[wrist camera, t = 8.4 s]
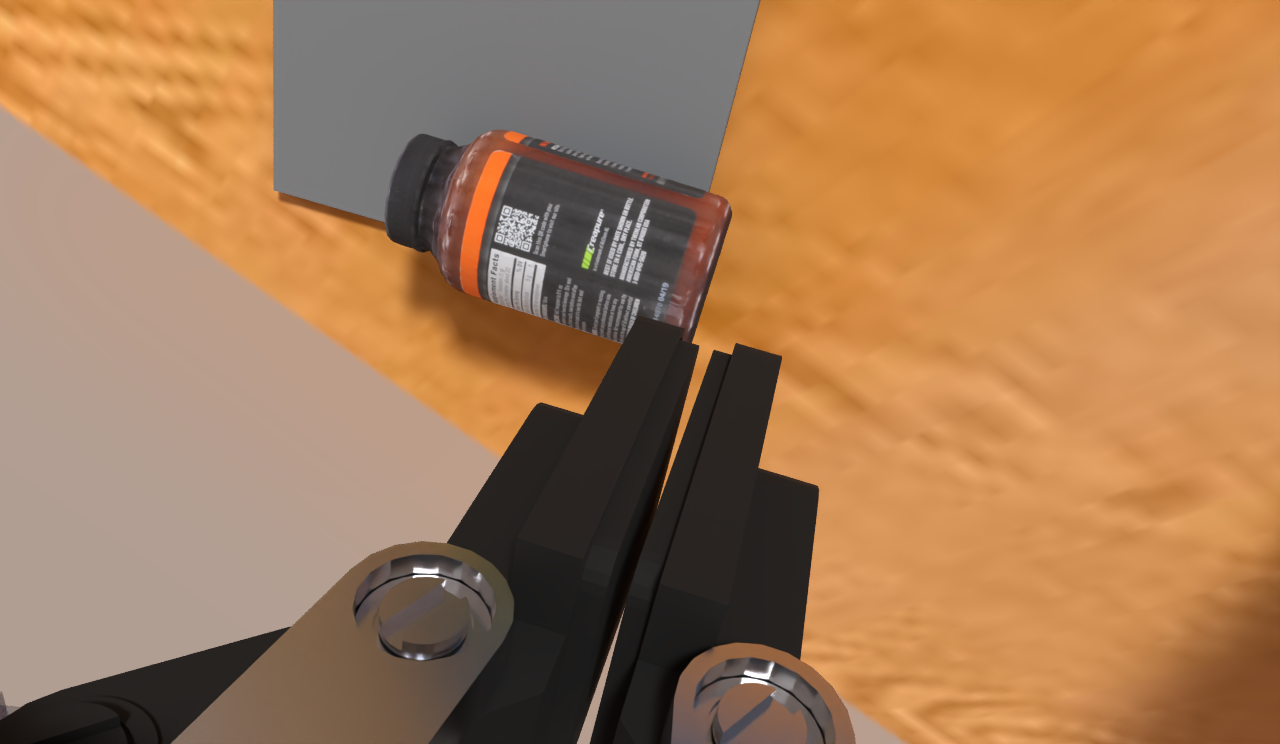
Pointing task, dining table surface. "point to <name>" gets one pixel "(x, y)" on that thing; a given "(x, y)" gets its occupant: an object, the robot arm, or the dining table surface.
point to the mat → (499, 84)
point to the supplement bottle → (558, 231)
